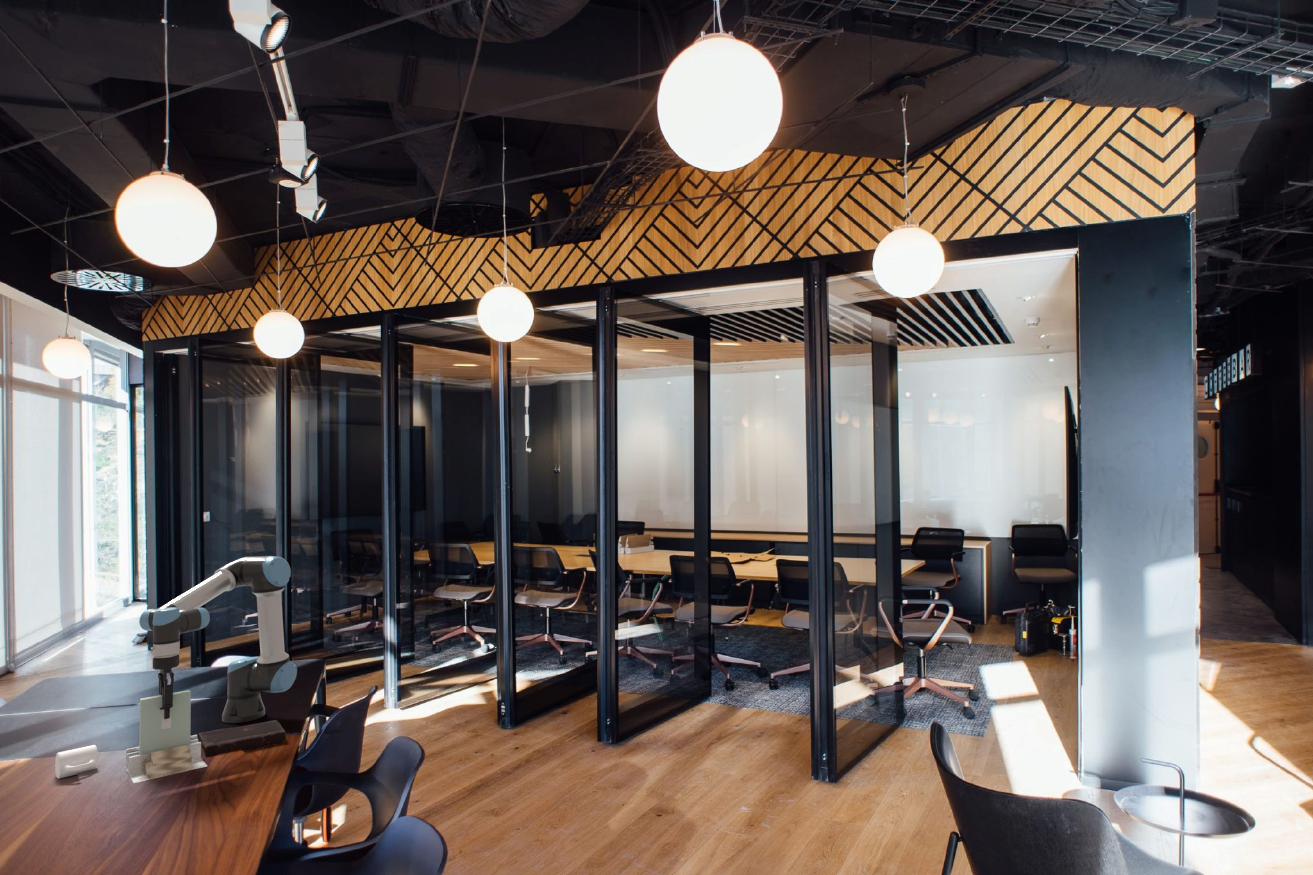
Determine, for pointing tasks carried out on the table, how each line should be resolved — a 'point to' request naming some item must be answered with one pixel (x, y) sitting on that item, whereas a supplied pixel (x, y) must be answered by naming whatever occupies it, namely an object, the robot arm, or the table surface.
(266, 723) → the diary
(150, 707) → the board
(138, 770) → the rack
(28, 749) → the table surface
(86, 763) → the mug
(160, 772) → the offcut lower
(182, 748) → the offcut upper
